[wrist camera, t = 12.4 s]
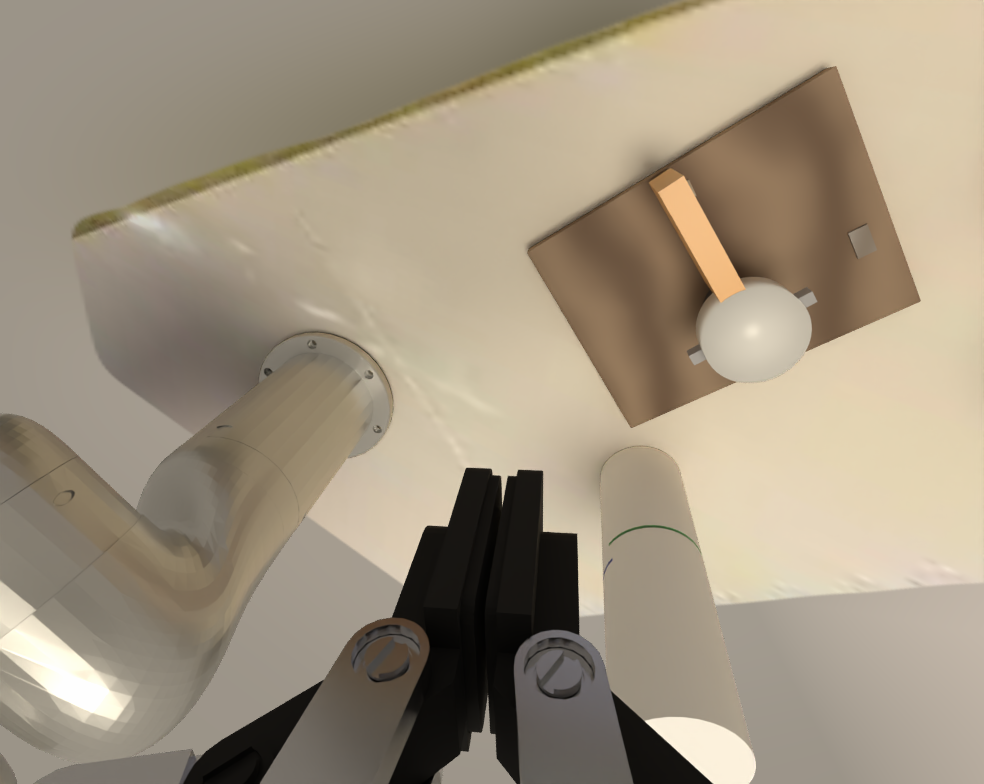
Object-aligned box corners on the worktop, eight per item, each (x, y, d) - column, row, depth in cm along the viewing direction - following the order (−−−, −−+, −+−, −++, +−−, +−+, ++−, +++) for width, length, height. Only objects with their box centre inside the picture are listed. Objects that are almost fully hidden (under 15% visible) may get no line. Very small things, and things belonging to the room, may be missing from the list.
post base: (629, 419, 48) (634, 453, 43) (529, 248, 43) (521, 265, 38) (909, 295, 40) (954, 319, 35) (826, 68, 35) (865, 59, 30)
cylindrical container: (589, 497, 52) (589, 778, 30) (616, 436, 49) (639, 699, 27) (662, 520, 52) (717, 819, 30) (694, 460, 49) (783, 745, 26)
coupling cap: (810, 315, 39) (843, 344, 34) (701, 370, 42) (717, 405, 37) (717, 136, 35) (740, 138, 30) (605, 211, 39) (608, 225, 33)
